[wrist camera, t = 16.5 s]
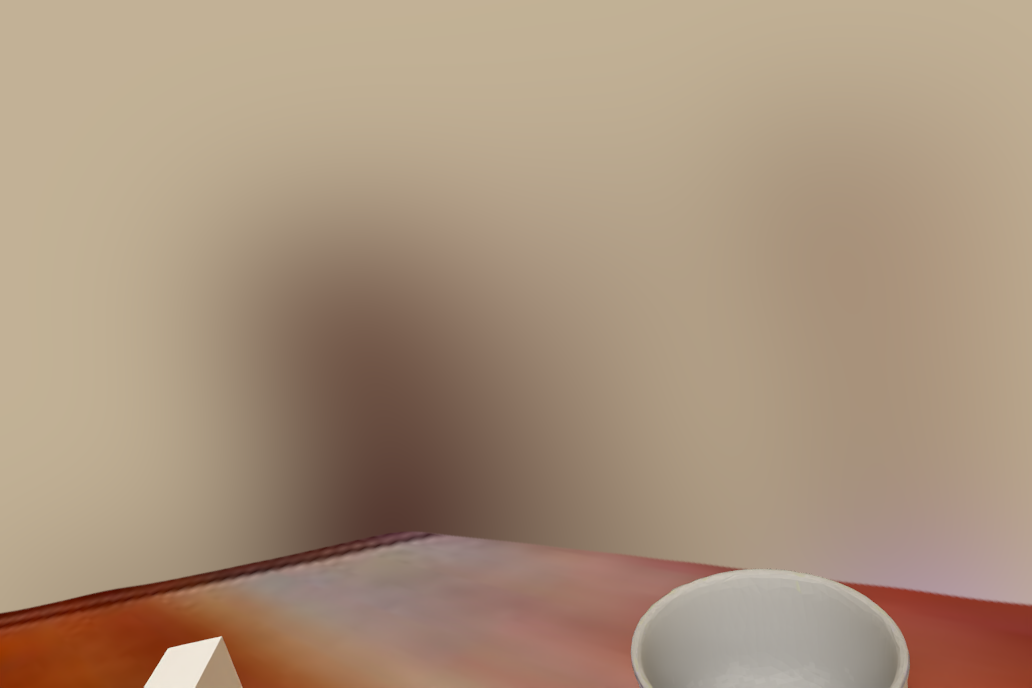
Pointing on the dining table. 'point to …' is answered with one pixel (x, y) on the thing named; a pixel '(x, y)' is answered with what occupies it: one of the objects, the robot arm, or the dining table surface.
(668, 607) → the teacup
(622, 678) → the dining table surface
